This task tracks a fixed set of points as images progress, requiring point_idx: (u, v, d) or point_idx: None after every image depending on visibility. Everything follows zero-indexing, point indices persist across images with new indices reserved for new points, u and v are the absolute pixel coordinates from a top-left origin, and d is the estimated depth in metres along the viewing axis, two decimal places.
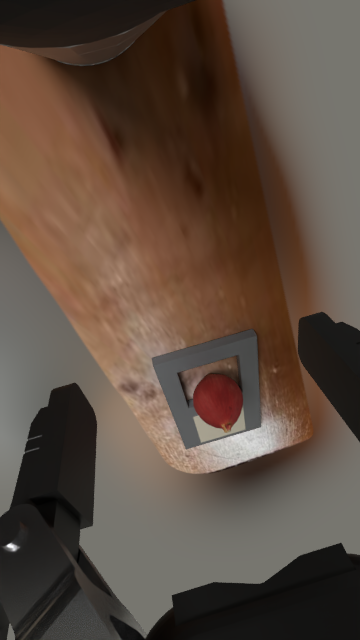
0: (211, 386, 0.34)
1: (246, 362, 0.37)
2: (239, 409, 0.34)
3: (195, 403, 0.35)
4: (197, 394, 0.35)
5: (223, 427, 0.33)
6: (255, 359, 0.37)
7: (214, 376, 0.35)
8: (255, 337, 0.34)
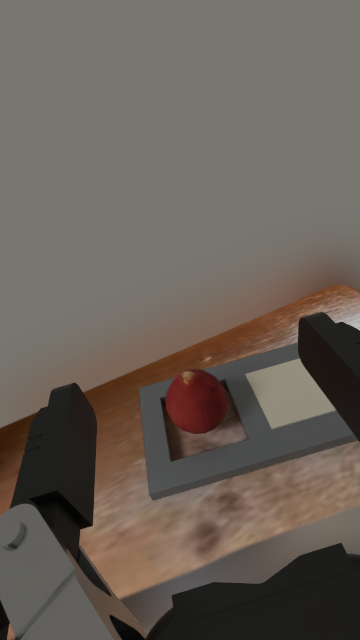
0: (168, 412, 0.29)
1: None
2: None
3: (191, 425, 0.27)
4: (181, 426, 0.28)
5: (186, 380, 0.27)
6: (171, 380, 0.35)
7: None
8: (140, 388, 0.35)
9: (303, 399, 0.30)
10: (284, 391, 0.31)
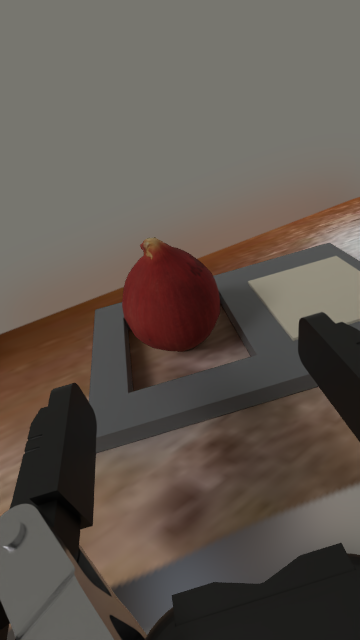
0: (126, 319, 0.18)
1: None
2: None
3: (159, 329, 0.16)
4: (144, 334, 0.17)
5: (149, 251, 0.16)
6: None
7: None
8: (97, 310, 0.25)
9: (340, 300, 0.19)
10: (308, 294, 0.20)
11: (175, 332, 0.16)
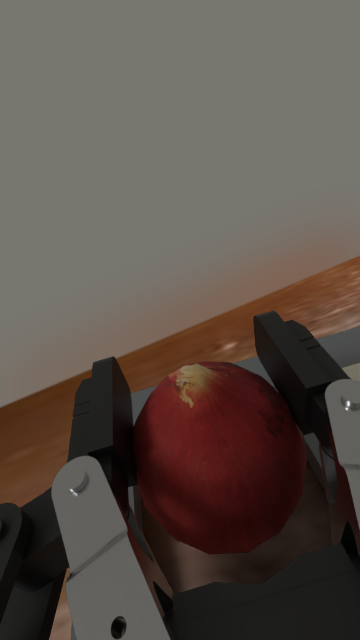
0: None
1: None
2: None
3: (205, 541, 0.08)
4: (173, 536, 0.09)
5: (188, 394, 0.08)
6: None
7: None
8: None
9: None
10: None
11: (235, 547, 0.08)
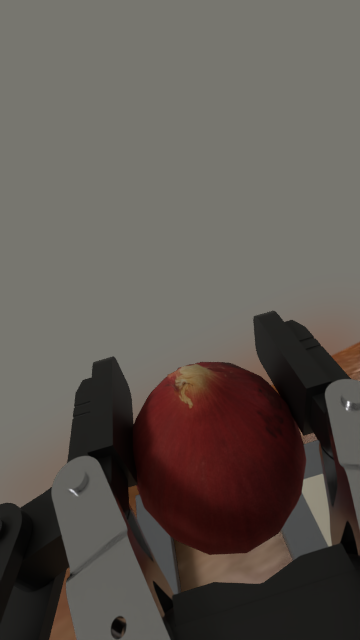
0: None
1: None
2: None
3: (204, 541, 0.08)
4: (172, 536, 0.09)
5: (187, 395, 0.08)
6: None
7: None
8: (138, 497, 0.24)
9: None
10: None
11: (235, 547, 0.08)
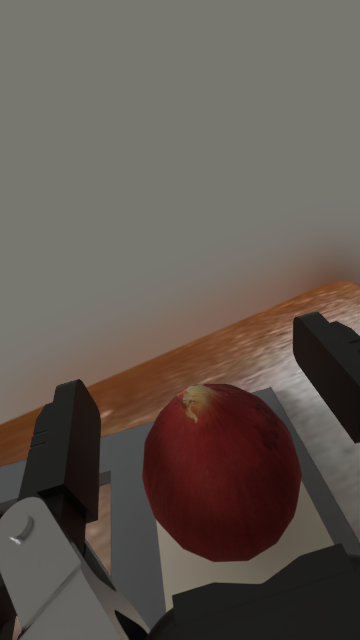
0: (147, 496, 0.11)
1: (13, 485, 0.17)
2: None
3: (208, 546, 0.09)
4: (180, 543, 0.10)
5: (193, 411, 0.09)
6: (16, 466, 0.18)
7: None
8: None
9: None
10: None
11: (236, 552, 0.09)
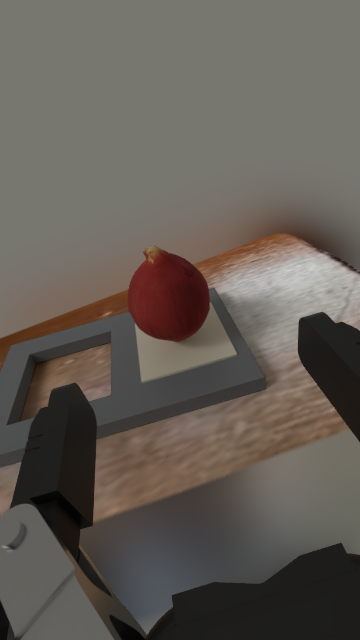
0: (131, 313, 0.22)
1: (50, 342, 0.28)
2: None
3: (158, 321, 0.20)
4: (146, 325, 0.20)
5: (151, 257, 0.19)
6: (51, 335, 0.29)
7: None
8: (13, 345, 0.29)
9: (191, 347, 0.23)
10: None
11: (172, 324, 0.20)
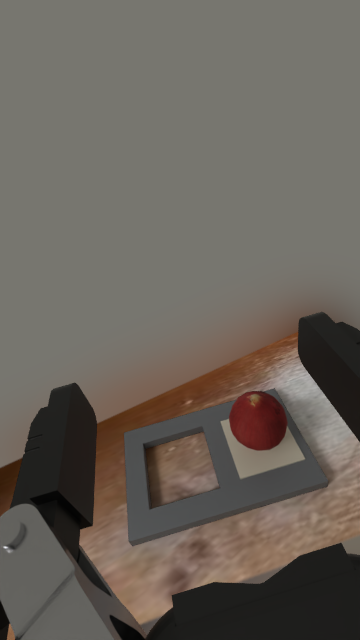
0: (232, 431, 0.31)
1: (156, 433, 0.38)
2: (244, 394, 0.32)
3: (257, 444, 0.29)
4: (247, 444, 0.30)
5: (253, 402, 0.29)
6: (154, 425, 0.39)
7: None
8: (125, 433, 0.39)
9: (270, 449, 0.33)
10: None
11: (266, 446, 0.29)
